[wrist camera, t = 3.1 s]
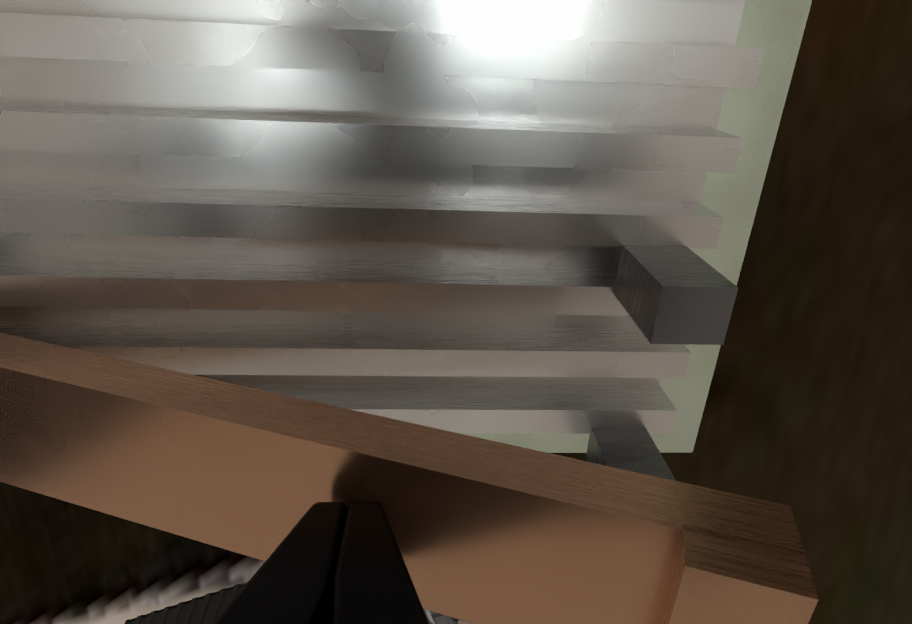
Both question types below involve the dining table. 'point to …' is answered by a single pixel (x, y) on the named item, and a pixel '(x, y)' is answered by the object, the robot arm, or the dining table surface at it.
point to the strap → (396, 496)
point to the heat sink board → (398, 201)
